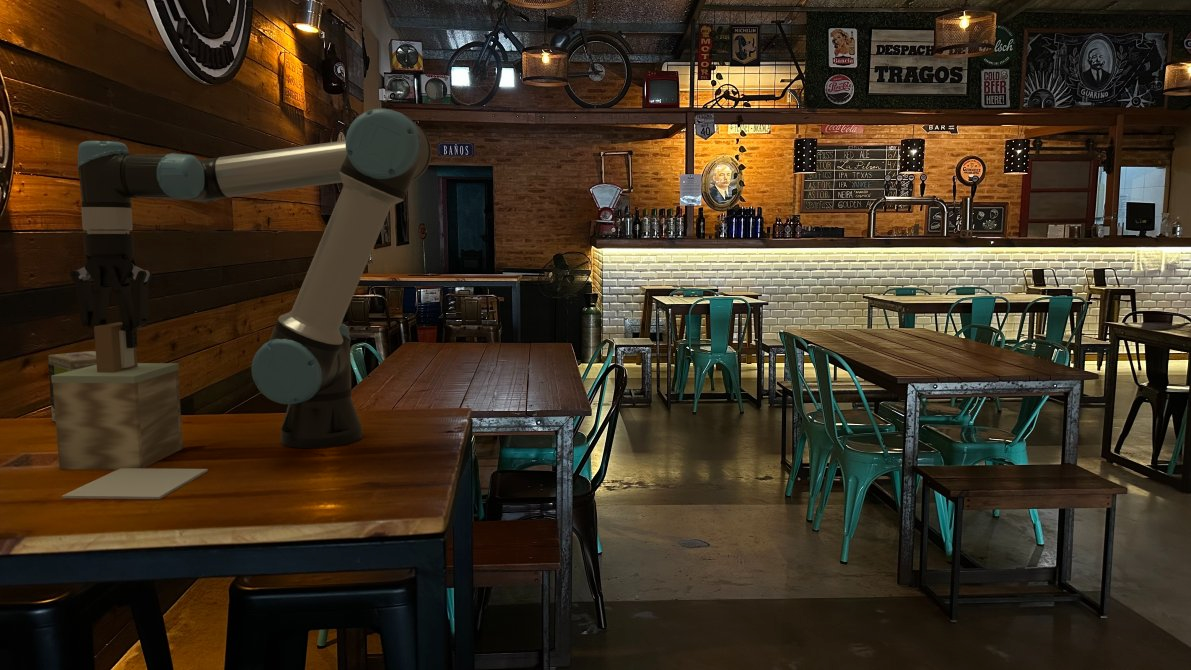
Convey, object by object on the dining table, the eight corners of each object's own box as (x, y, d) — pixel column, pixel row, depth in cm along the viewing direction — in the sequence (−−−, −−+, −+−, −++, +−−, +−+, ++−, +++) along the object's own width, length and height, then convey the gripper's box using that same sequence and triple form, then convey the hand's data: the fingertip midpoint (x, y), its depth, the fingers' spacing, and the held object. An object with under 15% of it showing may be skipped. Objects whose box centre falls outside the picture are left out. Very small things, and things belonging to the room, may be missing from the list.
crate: (182, 448, 154) (178, 369, 153) (140, 469, 141) (134, 383, 139) (109, 448, 155) (103, 369, 153) (59, 469, 141) (52, 382, 139)
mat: (207, 471, 140) (207, 468, 140) (159, 499, 125) (159, 496, 125) (120, 470, 140) (120, 468, 140) (61, 498, 125) (61, 495, 125)
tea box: (127, 424, 175) (123, 355, 173) (74, 432, 167) (68, 360, 166) (102, 414, 185) (97, 348, 183) (50, 421, 177) (45, 353, 176)
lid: (179, 376, 153) (176, 320, 152) (135, 390, 139) (130, 329, 138) (104, 375, 153) (100, 320, 152) (52, 389, 139) (47, 328, 138)
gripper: (166, 232, 146) (173, 363, 149) (77, 232, 147) (86, 363, 150) (141, 232, 139) (150, 370, 142) (48, 232, 139) (58, 369, 142)
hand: (117, 366), depth 146 cm, fingers closed on lid, 3 cm apart
